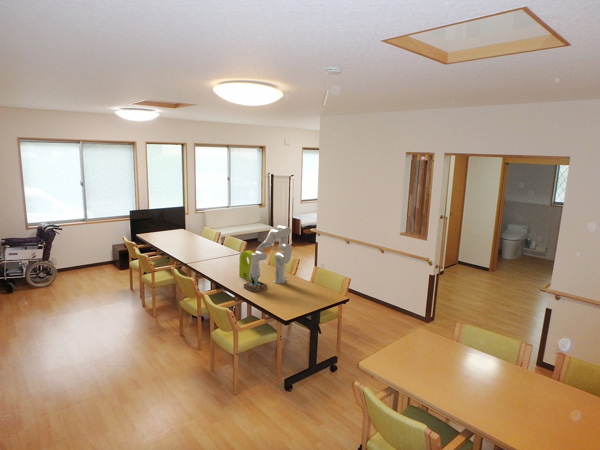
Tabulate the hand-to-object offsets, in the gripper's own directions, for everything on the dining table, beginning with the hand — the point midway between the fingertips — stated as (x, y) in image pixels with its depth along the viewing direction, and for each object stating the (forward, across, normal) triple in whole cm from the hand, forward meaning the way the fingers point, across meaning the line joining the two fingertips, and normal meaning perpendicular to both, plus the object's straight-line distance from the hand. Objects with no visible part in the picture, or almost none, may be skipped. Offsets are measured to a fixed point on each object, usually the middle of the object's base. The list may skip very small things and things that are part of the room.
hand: (254, 283), depth 371 cm
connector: (+3, 0, 0) cm, 3 cm away
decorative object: (+5, -14, -27) cm, 31 cm away
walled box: (+5, 0, +1) cm, 5 cm away
